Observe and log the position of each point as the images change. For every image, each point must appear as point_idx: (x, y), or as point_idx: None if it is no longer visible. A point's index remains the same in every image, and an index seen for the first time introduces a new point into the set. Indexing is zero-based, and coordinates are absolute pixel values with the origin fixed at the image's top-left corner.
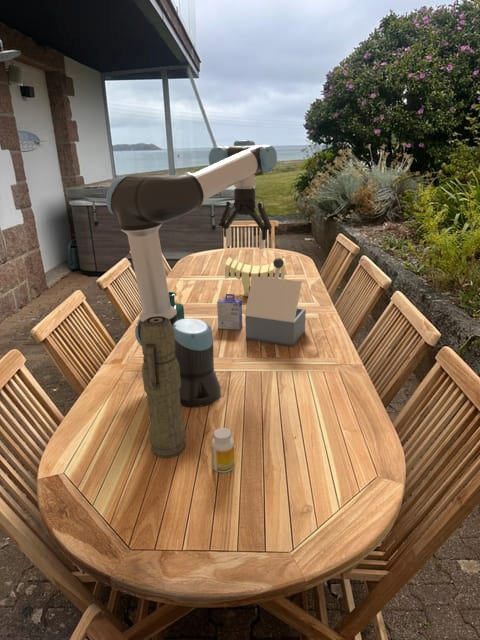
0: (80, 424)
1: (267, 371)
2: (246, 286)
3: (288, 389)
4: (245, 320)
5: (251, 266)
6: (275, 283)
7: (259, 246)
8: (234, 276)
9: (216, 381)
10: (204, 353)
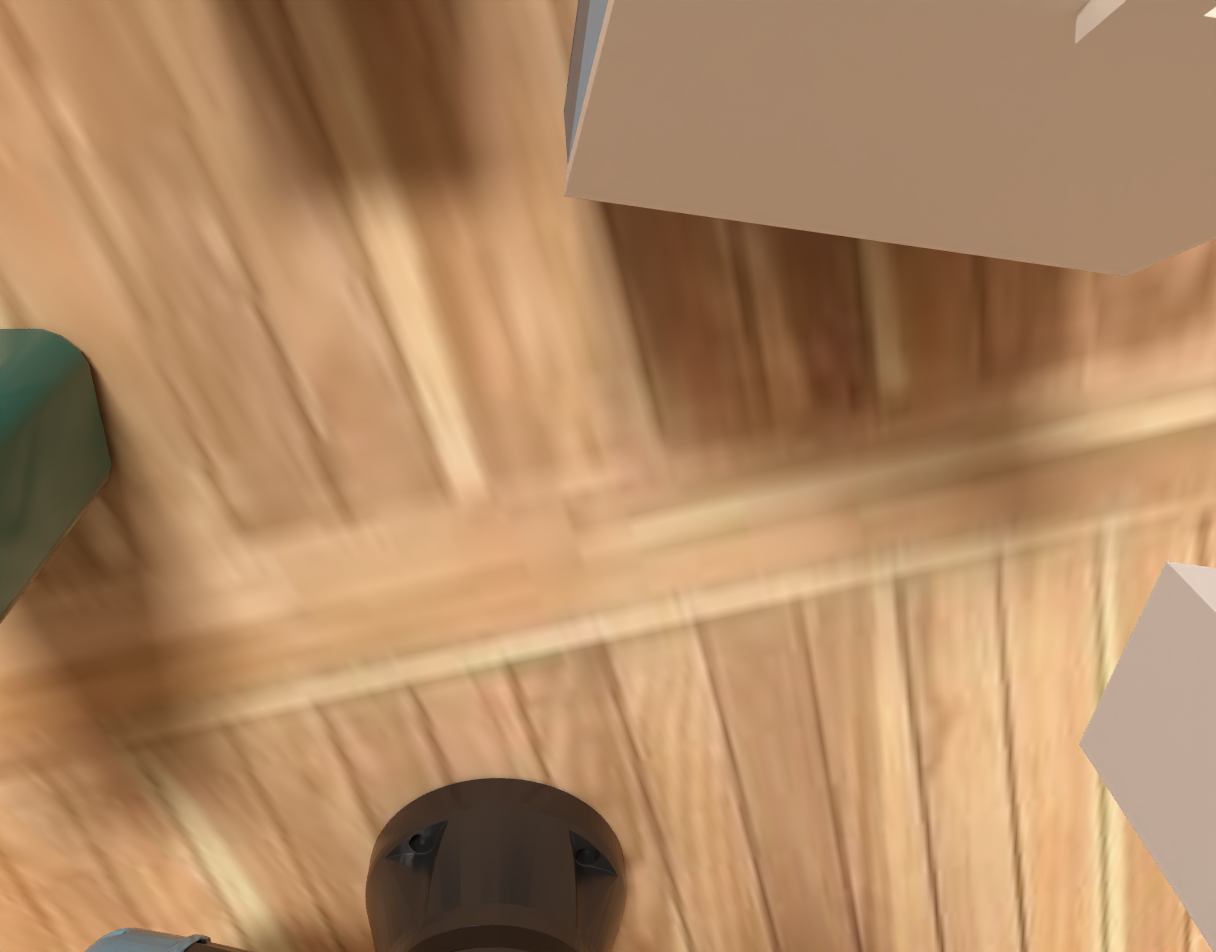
0: None
1: (838, 594)
2: None
3: (973, 736)
4: (567, 150)
5: None
6: (1078, 46)
7: (1121, 804)
8: None
9: (612, 931)
10: None
